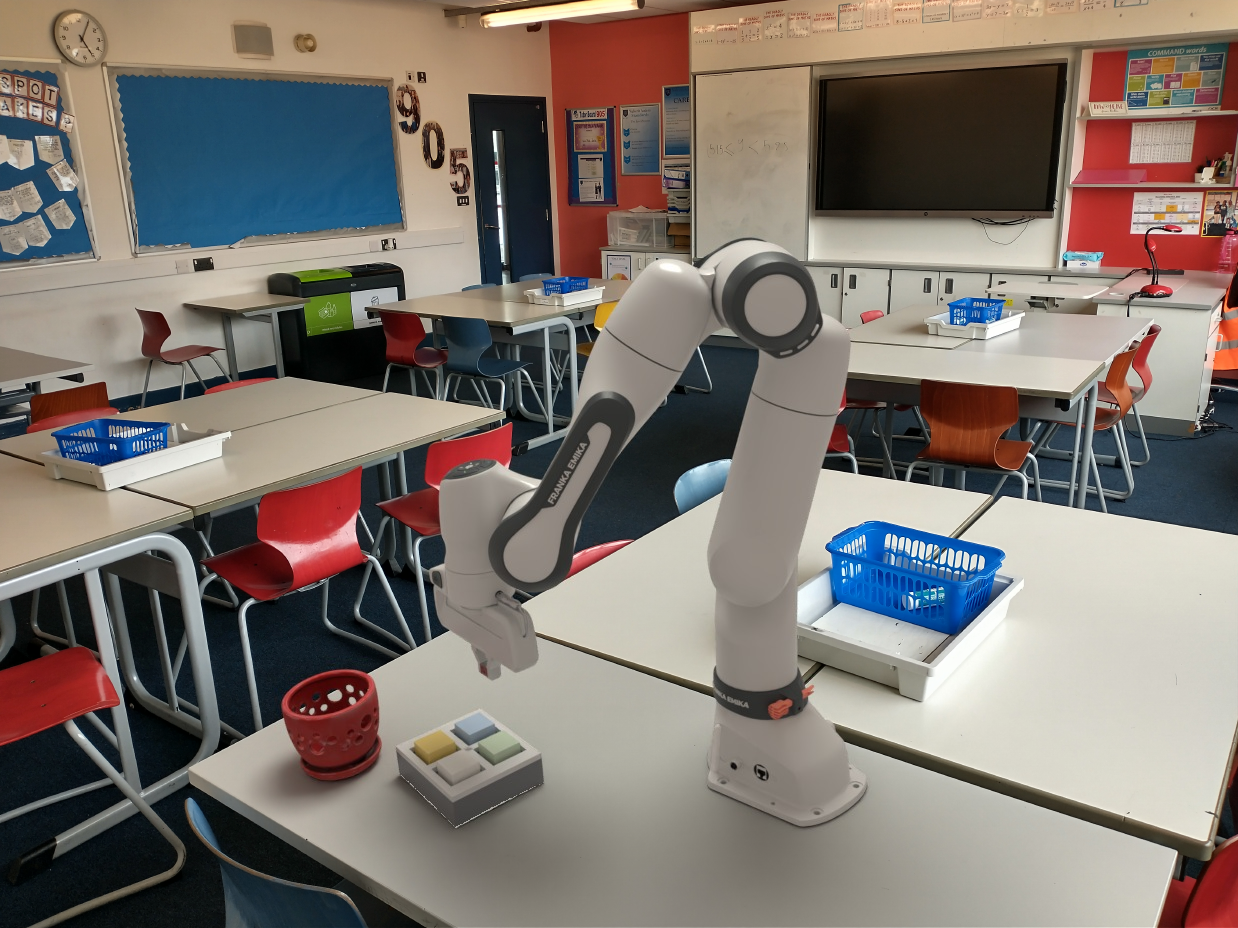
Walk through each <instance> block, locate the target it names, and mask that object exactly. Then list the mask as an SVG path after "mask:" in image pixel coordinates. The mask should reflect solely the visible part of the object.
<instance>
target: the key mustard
mask: <svg viewBox="0 0 1238 928" xmlns="http://www.w3.org/2000/svg"><path fill="white" fill-rule="evenodd" d="M414 747H415V754H416V756H417V757H418V758H420V759H421V760H422V761H423V762H424V763H425V764H426V765H429V764H432V763H434V762H436V761H438V760H440V759H442V758H444V757H447V756H449V755H451V754H453V753H455V752H456V746H455V741H453V740H452V739H451V738H450V737H449V736H447V735H446V734H445V733H444V732H442V731H441V730H439V731H436V732H434V733H432V734H430V735H427V736H425V737H423V738H421V739H418V740H416V741H414Z"/></svg>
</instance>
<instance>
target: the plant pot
mask: <svg viewBox="0 0 1238 928" xmlns="http://www.w3.org/2000/svg"><path fill="white" fill-rule="evenodd" d="M348 686H351V687H352V689H353V691H349V690H348V689H347V687H348ZM333 689H335V690H337V691H339V692H340V694H341V697H340V699H338V700H331V699H330V698H329V695H328V694H329V692H330V691H331V690H333ZM361 692H362V694H363V695H362V694H361ZM315 694H319V696H318V697H319V698H317V699H316V700H313V697H314V695H315ZM350 698H353V699H354V700H355V703H353V704H352V703H351V702H350ZM303 704H304V709H303V710H302V711H301V706H302V705H303ZM325 705H326V709H325V710H323V709H322V706H325ZM311 709H314V711H313V713H312V714H311V713H310V711H311ZM281 712H282V716H283V720H284V724H285V729H286V731H287V734H288V736H289V739H290V741H291V743H292V746H293V747H294V749H295V750H296V751H297V753H298V755H300V761H299V762H300V767H301V769H302V771H304V772H305V773H306V774H307V775H308V776H310V777H312V778H315V779H317V780H321V781H337V780H338V781H339V780H344V779H347V778H350V777H353V776H356V775H358V774H359V773H361V772H363V771H364V770H366V769H367V768H369V767H370V766H372V765H373V763H375V761H376V759H378V757H379V756H380V754H381V751H382V743H383V742H382V739H381V737H380V735H379V734H378V732H379V726H380V703H379V697H378V690H377V687H376V683H375V681H374V679H373V677H372V676H371V675H369V674H367V673H366V672H363V671H361V670H356V669H336V670H329V671H325V672H322V673H319V674H314V675H313V676H311V677H308V678H306V679H303V680H302V681H301V682H299V683H297V684H296V685H294V686H293V687H292V688H291V689H289V691H287V692H286V694H285V695H284V696H283V699H282V701H281ZM355 774H356V775H355Z"/></svg>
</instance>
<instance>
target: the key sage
mask: <svg viewBox="0 0 1238 928" xmlns="http://www.w3.org/2000/svg"><path fill="white" fill-rule="evenodd" d="M478 748H479V755H480V756H482V757H483V758H484V759H485V760H487V761H488V762H489V763H490V764H492V765H493V766H495V765H497V764H499V763H501V762H503V761H505V760H507V759H509V758H511V757H513V756H515V755H517V754H519V753H521V749H520V742H519V741H518V740H516V739H515V738H513V737H512V736H511V735H509V734H508V733H507V732H505V731H504V730H502V731H500V732H498V733H496V734H494V735H492V736H490V737H487V738H485V739H483V740H481V741H479V742H478Z"/></svg>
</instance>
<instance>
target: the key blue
mask: <svg viewBox="0 0 1238 928" xmlns="http://www.w3.org/2000/svg"><path fill="white" fill-rule="evenodd" d="M454 725H455V733H456V736H457V737H458V738H459V739H460V740H462V741H463V742H464V743H465V744H467V745H468V746H470V745H472V744H474V743H477V742H479V741H481V740H483V739H485V738H487V737H489V736H492V735H494V734H496V731H495V723H493V722H492V721H491V720H489V719H488V718H486V717H485V716H484V715H482V714H481V713H480V712H479V713H477V714H474V715H472V716H470V717H468V718H465V719H463V720H461V721H459V722H456V723H454Z"/></svg>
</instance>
